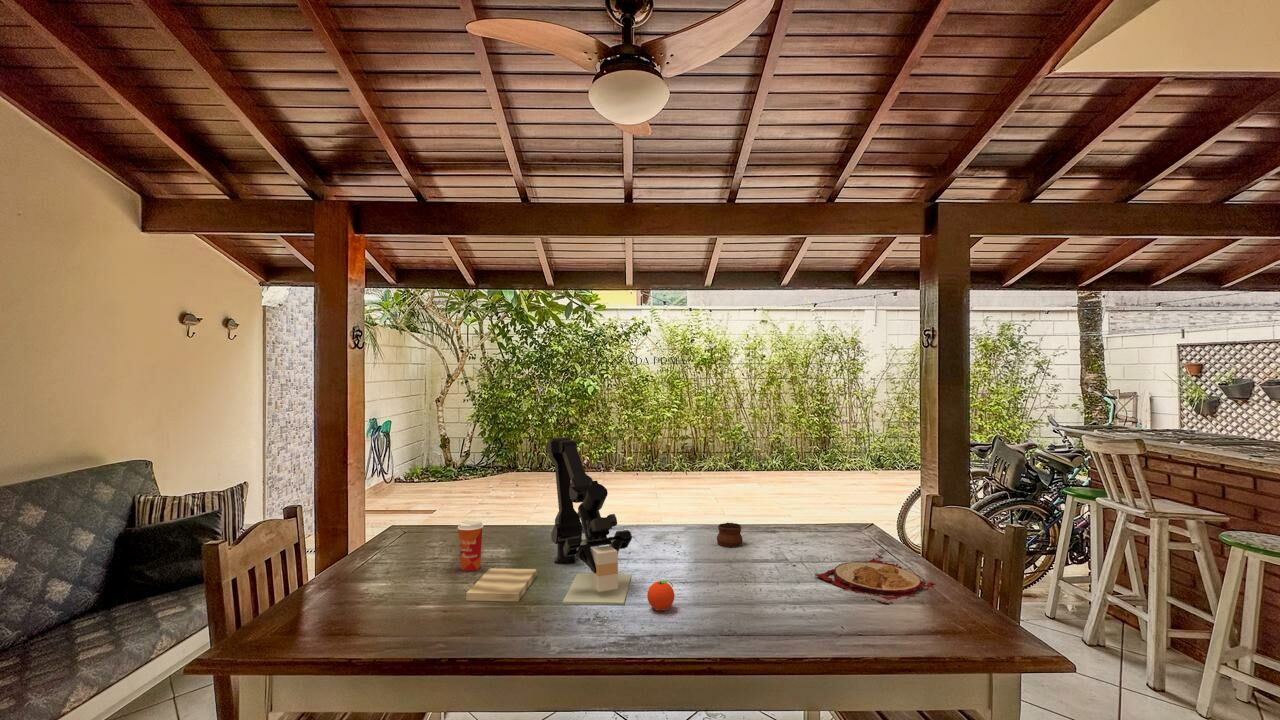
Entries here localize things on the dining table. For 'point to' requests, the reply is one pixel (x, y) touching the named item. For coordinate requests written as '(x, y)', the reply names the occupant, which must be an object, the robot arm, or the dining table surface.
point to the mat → (588, 594)
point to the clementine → (660, 595)
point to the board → (502, 585)
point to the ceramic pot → (729, 535)
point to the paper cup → (470, 544)
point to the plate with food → (876, 579)
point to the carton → (605, 568)
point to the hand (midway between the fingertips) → (605, 571)
